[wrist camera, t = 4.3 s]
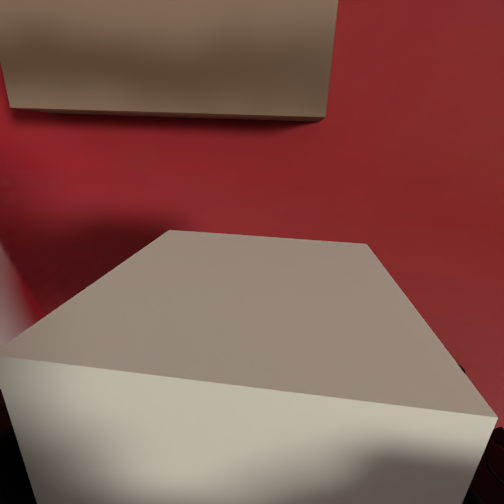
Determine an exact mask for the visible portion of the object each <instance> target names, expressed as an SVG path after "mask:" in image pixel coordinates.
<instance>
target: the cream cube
mask: <svg viewBox="0 0 504 504" xmlns="http://www.w3.org/2000/svg"><path fill="white" fill-rule="evenodd" d="M0 388H1V391H2V394H3V397H4V400H5V403H6V407H7V410H8V413H9V416H10V419H11V423H12V426H13V429H14V432H15V435H16V438H17V442H18V445H19V448H20V451H21V454H22V458H23V461H24V464H25V467H26V470H27V474H28V477H29V480H30V483H31V486H32V489H33V493H34V496H35V499H36V502H37V504H462V503H463V500H464V498H465V495H466V493H467V491H468V488H469V486H470V483H471V481H472V479H473V476H474V474H475V472H476V469H477V467H478V464H479V462H480V460H481V457H482V455H483V452H484V450H485V448H486V445H487V443H488V441H489V438H490V436H491V433H492V431H493V429H494V426H495V424H496V421H497V419H498V417H497V416H496V414H495V413H494V412H493V410H492V409H491V408H490V406H489V405H488V404H487V402H486V401H485V400H484V398H483V397H482V396H481V395H480V393H479V392H478V391H477V389H476V388H475V387H474V385H473V384H472V383H471V381H470V380H469V379H468V377H467V376H466V375H465V373H464V372H463V371H462V369H461V368H460V367H459V365H458V364H457V363H456V361H455V360H454V359H453V358H452V356H451V355H450V354H449V352H448V351H447V350H446V348H445V347H444V346H443V344H442V343H441V342H440V340H439V339H438V338H437V336H436V335H435V334H434V332H433V331H432V330H431V328H430V327H429V326H428V324H427V323H426V322H425V321H424V319H423V318H422V317H421V315H420V314H419V313H418V311H417V310H416V309H415V307H414V306H413V305H412V303H411V302H410V301H409V299H408V298H407V297H406V295H405V294H404V293H403V291H402V290H401V289H400V287H399V286H398V285H397V284H396V282H395V281H394V280H393V278H392V277H391V276H390V274H389V273H388V272H387V270H386V269H385V268H384V266H383V265H382V264H381V262H380V261H379V260H378V258H377V257H376V256H375V254H374V253H373V252H372V250H371V249H370V248H369V247H368V245H367V244H359V243H345V242H331V241H318V240H304V239H290V238H276V237H262V236H248V235H234V234H220V233H206V232H192V231H178V230H168V231H167V232H166V233H164V234H163V235H161V236H160V237H158V238H157V239H156V240H154V241H153V242H151V243H150V244H148V245H147V246H146V247H144V248H143V249H141V250H140V251H138V252H137V253H135V254H134V255H133V256H131V257H130V258H128V259H127V260H125V261H124V262H123V263H121V264H120V265H118V266H117V267H115V268H114V269H113V270H111V271H110V272H108V273H107V274H105V275H104V276H103V277H101V278H100V279H98V280H97V281H95V282H94V283H92V284H91V285H90V286H88V287H87V288H85V289H84V290H82V291H81V292H80V293H78V294H77V295H75V296H74V297H72V298H71V299H70V300H68V301H67V302H65V303H64V304H62V305H61V306H60V307H58V308H57V309H55V310H54V311H52V312H51V313H49V314H48V315H47V316H45V317H44V318H42V319H41V320H39V321H38V322H37V323H35V324H34V325H33V326H31V327H29V328H28V329H27V330H25V331H24V332H22V333H21V334H19V335H18V336H17V337H15V338H14V339H12V340H11V341H9V342H8V343H7V344H5V345H4V346H2V347H1V348H0Z"/></svg>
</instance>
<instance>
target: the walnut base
mask: <svg viewBox="0 0 504 504" xmlns="http://www.w3.org/2000/svg"><path fill="white" fill-rule="evenodd" d="M337 7H338V0H0V63H1V67H2V72H3V77H4V81H5V86H6V91H7V95H8V100H9V105H10V108H17V109H25V110H32V111H40V112H47V113H60V114H91V115H123V116H154V117H186V118H217V119H249V120H280V121H311V122H320V121H321V120H322V119H324V118H325V116H326V107H327V98H328V89H329V80H330V71H331V62H332V53H333V43H334V34H335V25H336V16H337Z"/></svg>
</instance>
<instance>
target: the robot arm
mask: <svg viewBox="0 0 504 504" xmlns="http://www.w3.org/2000/svg"><path fill="white" fill-rule="evenodd" d="M458 365H459V367H460V368H461V369H462V371H463V372H464V373H465V370H464V369H463V367H462V366H461V365H460V364H458ZM0 504H37V502H36V499H35V496H34V493H33V489H32V486H31V483H30V480H29V477H28V474H27V470H26V467H25V464H24V461H23V458H22V454H21V451H20V448H19V445H18V442H17V438H16V435H15V432H14V429H13V426H12V423H11V419H10V416H9V413H8V410H7V407H6V403H5V400H4V397H3V394H2V391H1V389H0ZM462 504H504V429H503V428H502V427H498V428H496V429H493V431H492V433H491V436H490V438H489V441H488V443H487V445H486V448H485V450H484V452H483V455H482V457H481V460H480V462H479V464H478V467H477V469H476V472H475V474H474V476H473V479H472V481H471V483H470V486H469V488H468V491H467V493H466V495H465V498H464V500H463V503H462Z"/></svg>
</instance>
